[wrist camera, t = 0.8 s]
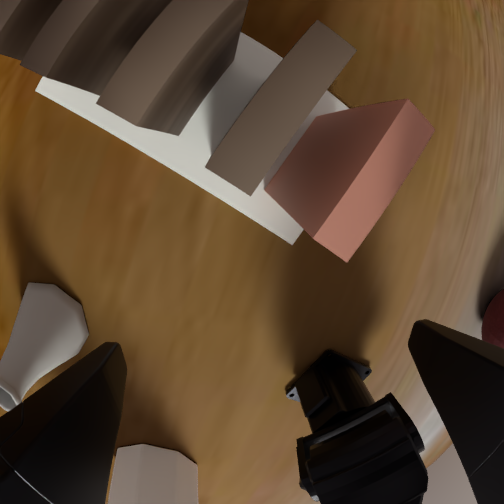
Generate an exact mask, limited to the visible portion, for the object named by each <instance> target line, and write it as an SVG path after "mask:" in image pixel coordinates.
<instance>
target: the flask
mask: <svg viewBox="0 0 504 504" xmlns="http://www.w3.org/2000/svg"><path fill="white" fill-rule="evenodd" d="M88 335H89V333H88V329H87V325H86V321H85V317H84V313H83V309H82V305H81V304H79V303H78V302H76V301H75V300H74V299H72V298H71V297H70V296H68V295H67V294H66V293H65V292H63V291H62V290H61V289H59V288H58V287H57V286H56V285H54V284H42V283H28V285H27V288H26V290H25V293H24V296H23V299H22V302H21V305H20V308H19V312H18V315H17V318H16V321H15V324H14V327H13V330H12V333H11V337H10V340H9V343H8V346H7V348H6V350H5V352H4V354H3V357H2V359H1V361H0V406H1V407H2V408H3V409H5V410H6V411H10V410H11V409H13V408H14V407H15V406H17V405H18V404H20V403H21V402H22V399H23V397H24V395H25V393H26V392H27V391H28V390H29V389H30V388H31V386H32V385H33V384H34V383H35V382H36V381H37V380H38V379H39V378H41V377H42V376H44V375H45V374H47V373H48V372H50V371H51V370H53V369H54V368H56V367H57V366H59V365H60V364H62V363H64V362H65V361H67V360H69V359H70V358H72V357H74V356H75V355H77V354H78V353H79V352H80V350H81V348H82V346H83V344H84V343H85V341H86V339H87V337H88Z"/></svg>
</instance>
